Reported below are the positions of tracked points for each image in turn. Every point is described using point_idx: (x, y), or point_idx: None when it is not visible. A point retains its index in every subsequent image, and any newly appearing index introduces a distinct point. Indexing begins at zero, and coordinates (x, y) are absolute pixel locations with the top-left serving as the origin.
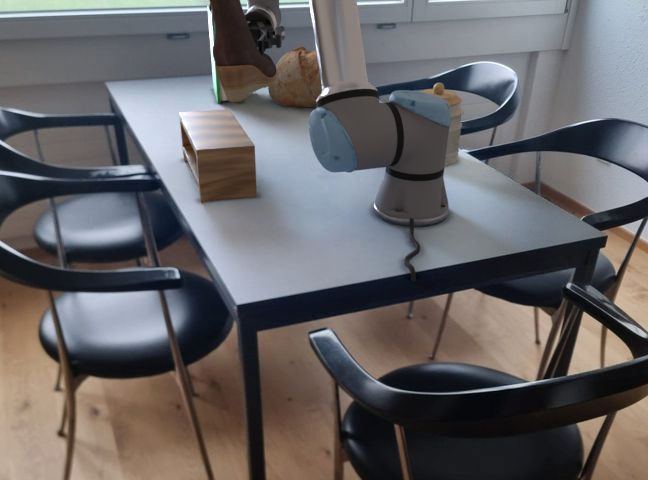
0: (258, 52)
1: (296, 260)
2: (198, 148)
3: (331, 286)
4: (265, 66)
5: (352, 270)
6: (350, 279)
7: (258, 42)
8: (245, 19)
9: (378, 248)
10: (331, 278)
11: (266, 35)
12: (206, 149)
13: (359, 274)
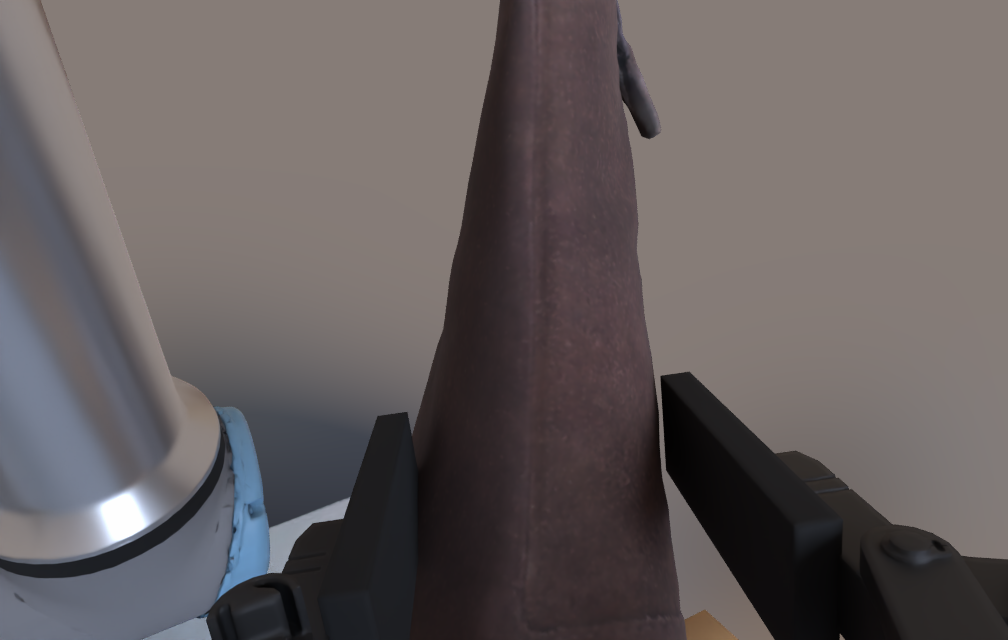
0: (413, 439)
1: None
2: (708, 623)
3: (329, 506)
4: None
5: (283, 546)
6: (294, 525)
7: (407, 425)
8: (461, 228)
9: (197, 622)
10: (325, 521)
11: (311, 636)
12: None
13: (274, 539)
